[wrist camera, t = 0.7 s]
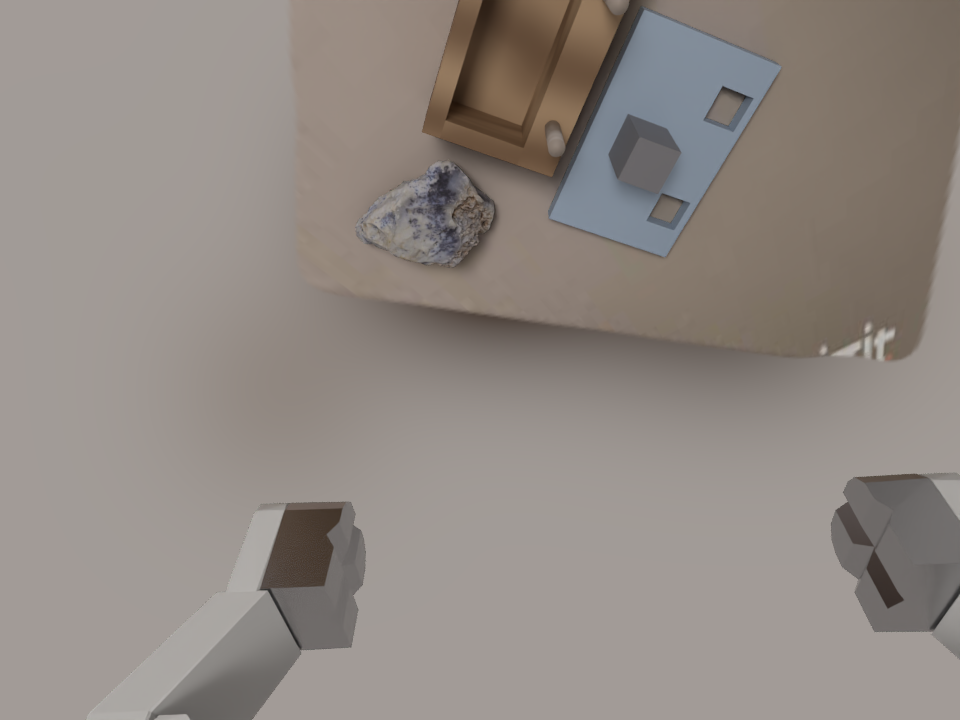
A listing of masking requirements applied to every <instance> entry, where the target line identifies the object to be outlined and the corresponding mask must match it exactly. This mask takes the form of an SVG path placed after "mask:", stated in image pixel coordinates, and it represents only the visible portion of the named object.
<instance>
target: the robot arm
mask: <svg viewBox="0 0 960 720" xmlns="http://www.w3.org/2000/svg"><path fill="white" fill-rule="evenodd" d="M843 493H844V495H845V497H846V499H847V501H848V502H847V503H845V504H844V505H842V506H841V507H840V508H838V509H837V510H836V511H835V514H834V516H833V519H832V522H831V533H832V534H831V536H832V543H833V546H834V549H835V553H836V555H837V557H838V559H839V561H840V564H841V566H842V567H843V568H844V569H845V570H847V571H848V572H849V573H851V574H852V575H853V576H855V577H856V578H857V579H858V583H857V586H856V590H855V594H856V596H857V598H858V600H859V602H860V604H861V606H862V608H863V610H864V612H865V614H866V616H867V618H868V620H869V622H870V624H871V626H872V628H873V630H874V631H875V632H916V631H917V632H920V631H922V632H924V631H925V632H927V631H929V632H931V631H933V633H932V635H933V636H934V637H935V638H936V639H937V640H938V641H940V642H941V643H942V644H943V645H944V646H945V647H946V648H948V649H949V650H950V651H951V652H952V653H953V654H954V655H955V656H957V657H958V658H959V659H960V475H959V474H957V473H934V474H919V475H918V474H902V475H886V476H870V477H869V476H868V477H855V478H853V479H851V480H850V481H848V483H847V485H846V487H845V489H844V491H843ZM354 519H355V512H354V509H353V506H352V504H351V502H310V503H274V504H261V505H260V507H258V509H257V510H256V511H255V513H254V515H253V517H252V520H251V523H250V526H249V528H248V531H247V534H246V537H245V539H244V542H243V545H242V547H241V550H240V553H239V556H238V558H237V561H236V564H235V567H234V569H233V572H232V575H231V577H230V580H229V583H228V586H227V588H226V591H225V592H216V593H215V594H214V595H213V596H212V597H211V598H210V599H209V600H208V601H207V602H206V603H205V604H204V605H203V606H201V607H200V609H198V610H197V611H196V612H195V613H194V614H193V615H192V616H191V617H190V618H189V619H188V620H187V621H186V622H185V623H184V624H183V625H181V626H180V627H179V628H178V629H177V630H176V631H175V632H174V633H173V634H172V635H171V636H170V637H169V638H168V639H167V640H166V641H165V642H164V643H163V644H162V645H160V646H159V647H158V648H157V649H156V650H155V651H154V652H153V653H152V654H151V655H150V656H149V657H148V658H147V659H146V660H145V661H144V662H143V663H142V664H140V665H139V666H138V667H137V668H136V669H135V670H134V671H133V672H132V673H131V674H130V675H129V676H128V677H127V678H126V679H125V680H124V681H122V682H121V683H120V684H119V685H118V686H117V687H116V688H115V689H114V690H113V691H112V692H111V693H110V694H109V695H108V696H107V697H106V698H105V699H104V700H102V702H100V703H99V704H98V705H97V706H96V707H95V708H94V709H93V710H92V711H91V712H90V713H89V714H88V716H87V718H86V720H252V719H253V718H254V716H255V715H256V714H257V712H258V711H259V710H260V708H261V707H262V706H263V704H264V703H265V702H266V700H267V699H268V698H269V696H270V695H271V694H272V692H273V691H274V690H275V688H276V687H277V686H278V684H279V683H280V681H281V680H282V679H283V678H284V676H285V675H286V674H287V672H288V671H289V670H290V668H291V667H292V665H293V664H294V663H295V661H296V660H297V659H298V657H299V656H300V655H301V651H300V650H314V649H331V648H348V647H351V646H352V641H353V635H354V630H355V624H356V619H357V613H358V608H357V605H356V602H355V599H354V597H353V595H354V594H355V592H356V591H357V590H358V589H359V588H360V587H361V586H362V585H363V579H364V572H365V554H366V551H365V544H364V538H363V535H362V532H361V530H360V529H358V528H357V527H355V526H354V525H353V524H354Z"/></svg>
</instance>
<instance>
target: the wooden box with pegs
mask: <svg viewBox="0 0 960 720" xmlns="http://www.w3.org/2000/svg"><path fill="white" fill-rule="evenodd" d="M629 1H630V0H459V1H458V5H457V8H456V12H455V15H454V19H453V22H452V26H451V29H450V33H449V36H448V40H447V43H446V47H445V50H444V54H443V57H442V61H441V64H440V68H439V71H438V74H437V78H436V81H435V85H434V88H433V92H432V95H431V99H430V102H429V106H428V110H427V114H426V118H425V122H424V126H423V130H422V132H423V133H426V134H429V135H432V136H435V137H438V138H440V139H443V140H446V141H449V142H452V143H455V144H458V145H461V146H463V147H466V148H469V149H472V150H475V151H478V152H481V153H484V154H486V155H489V156H492V157H495V158H498V159H501V160H504V161H507V162H509V163H512V164H515V165H518V166H521V167H524V168H527V169H530V170H532V171H535V172H538V173H541V174H544V175H547V176H550V177H552V176H553V174H554V171H555V169H556V167H557V164H558V162H559V160H560V158H561V155H563V153H564V152H565V146H566V144H567V142H568V139H569V137H570V135H571V133H572V130H573V128H574V126H575V124H576V121H577V119H578V117H579V114H580V112H581V110H582V108H583V105H584V103H585V101H586V98H587V96H588V94H589V92H590V89H591V87H592V85H593V83H594V80H595V78H596V76H597V73H598V71H599V69H600V67H601V64H602V62H603V60H604V58H605V55H606V53H607V51H608V48H609V46H610V44H611V42H612V39H613V37H614V35H615V33H616V30H617V28H618V26H619V23H620V21H621V19H622V17H623V14H624V13H625V12H626V10H627V9H628V6H629Z"/></svg>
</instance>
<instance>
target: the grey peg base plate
mask: <svg viewBox="0 0 960 720" xmlns="http://www.w3.org/2000/svg"><path fill="white" fill-rule="evenodd" d="M780 69H781V66H780V65H779V64H778V63H776V62H775V61H772V60H770V59H767V58H765V57H763V56H760V55H758V54H755V53H753V52H751V51H748V50H746V49H743V48H741V47H739V46H736V45H734V44H732V43H729V42H727V41H724V40H722V39H720V38H717V37H715V36H712V35H710V34H708V33H705V32H703V31H700V30H698V29H696V28H693V27H691V26H689V25H686V24H684V23H681V22H679V21H677V20H674V19H672V18H669V17H667V16H665V15H662V14H660V13H657V12H655V11H653V10H650V9H648V8H645V7H643V6H641V7H640V9H639V11H638V13H637V16H636V18H635V20H634V22H633V24H632V27H631V29H630V31H629V33H628V35H627V38H626V40H625V42H624V44H623V47H622V49H621V51H620V53H619V55H618V58H617V60H616V62H615V64H614V66H613V69H612V71H611V73H610V75H609V78H608V80H607V82H606V84H605V86H604V89H603V91H602V93H601V95H600V97H599V100H598V102H597V104H596V106H595V108H594V111H593V113H592V115H591V117H590V120H589V122H588V124H587V126H586V128H585V131H584V133H583V135H582V137H581V139H580V142H579V144H578V146H577V148H576V151H575V153H574V155H573V157H572V159H571V162H570V164H569V166H568V168H567V170H566V173H565V175H564V177H563V179H562V181H561V184H560V186H559V188H558V190H557V193H556V195H555V197H554V199H553V201H552V204H551V206H550V208H549V210H548V215H549V219H552V220H555V221H558V222H561V223H564V224H567V225H570V226H573V227H576V228H579V229H582V230H585V231H588V232H591V233H594V234H597V235H600V236H603V237H606V238H609V239H612V240H615V241H618V242H621V243H624V244H627V245H630V246H633V247H636V248H639V249H642V250H645V251H648V252H651V253H654V254H657V255H660V256H663V257H666V255H667V254H668V252H669V250H670V249H671V247H672V245H673V244H674V242H675V241H676V239H677V237H678V236H679V234H680V232H681V231H682V229H683V228H684V226H685V224H686V223H687V221H688V219H689V218H690V216H691V214H692V213H693V211H694V210H695V208H696V206H697V205H698V203H699V201H700V200H701V198H702V196H703V195H704V193H705V192H706V190H707V188H708V187H709V185H710V183H711V182H712V180H713V179H714V177H715V175H716V174H717V172H718V170H719V169H720V167H721V165H722V164H723V162H724V161H725V159H726V157H727V156H728V154H729V152H730V151H731V149H732V147H733V146H734V144H735V143H736V141H737V139H738V138H739V136H740V134H741V133H742V131H743V130H744V128H745V126H746V125H747V123H748V121H749V120H750V118H751V116H752V115H753V113H754V112H755V110H756V108H757V107H758V105H759V103H760V102H761V100H762V98H763V97H764V95H765V94H766V92H767V90H768V89H769V87H770V85H771V84H772V82H773V80H774V79H775V77H776V76H777V74H778V72H779V71H780ZM722 86H724V87H726V88H729V89H731V90H734V91H736V92H739V93H741V94H744V95H746V97H745V99H744V101H743V103H742V104H741V106H740V108H739V109H738V111H737V113H736V114H735V116H734V118H733V119H732V121H731V123H730V124H729V126H726V125H724V124H721V123H718V122H716V121H713V120H711V119H708V118H706V117H705V116H706V114H707V113H708V111H709V109H710V107H711V106H712V104H713V102H714V100H715V99H716V97H717V95H718V93H719V92H720V90H721V88H722ZM662 193H663V194H666V195H669V196H672V197H675V198H677V199H680V200H683V201H684V202H683V203H682V205H681V207H680V208H679V210H678V212H677V213H676V215H675V217H674V218H673V220H672V222H671V223H668V222H666V221H663V220H660V219H657V218H654V217H651V216H649V215H650V213H651V212H652V210H653V208H654V206H655V205H656V203H657V201H658V199H659V197H660V196H661V194H662Z"/></svg>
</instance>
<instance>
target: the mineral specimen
mask: <svg viewBox="0 0 960 720" xmlns="http://www.w3.org/2000/svg"><path fill="white" fill-rule="evenodd" d="M494 212H495V210H494V203H493V200H491V199H490V198H488V196H487V195H485V194H484V193H483V192H481V191H480V190H479V189H477V188H476V187H475V186H474V185H472V183H471V181H470V179H469V178H468V177H467V176H466V175H465V174H464V172H463V171H462V170H461V169H460V168H459V167H458V166H457V165H455V164H454V163H453V162H451V161H450V160H446V161H437V162H436V163H434V164H433V165H431V166H430V167H429V168H428V170H427V172H426V174H425V175H422V176H420V177H418V178H417V179H413V180H411V181H403V182H402V183H401V184H400V185H399V186H397V187H396V188H395V189H393V190H390V191H389V192H388V193H386V194H385V195H383V196H380V197H379V198H378V199H377V200H376V201H375V203H374V204H373V205H372V206H371V207H370V208H369V210H368V212H367V214H364V215H363V218H359V220H358V222H357V224H356V227H355V228H356V232H357V237H358V238H359V239H360V240H361V241H362V242H363V243H364V244H371V243H372V244H374V245H375V246H376V247H378V248H381V249H383V250H386V251H389V252H390V253H391V254H393V255H394V256H396V257H399V258H402V259H404V260H408V261H412V262H418V263H422V264H424V265H426V266H427V265H432V264H435V263H437V264H439V265H440V266H442V265H444V266H445V267H448V268H450V267H452V268H453V267H455V266H456V265H458V264H459V263H460V261H462V260H463V258H464V257H465V256H466V255H468V251H470V250H471V248H472V247H473V246H477V244H478V243H479V239H478V235H477V234H478V233H483V234H484V233H485V232H486V231H488V230H489V228H490V224H491V222H492V220H493V215H494Z"/></svg>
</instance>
